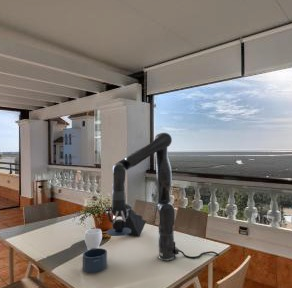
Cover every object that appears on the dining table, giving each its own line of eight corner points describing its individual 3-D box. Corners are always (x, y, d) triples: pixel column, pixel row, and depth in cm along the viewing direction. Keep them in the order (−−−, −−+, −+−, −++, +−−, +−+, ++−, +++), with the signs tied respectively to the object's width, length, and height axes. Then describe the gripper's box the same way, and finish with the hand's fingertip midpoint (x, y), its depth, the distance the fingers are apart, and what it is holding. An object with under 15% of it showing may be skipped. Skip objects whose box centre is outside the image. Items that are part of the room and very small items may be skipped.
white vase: (88, 251, 157) (87, 228, 157) (104, 251, 156) (104, 228, 157) (81, 259, 146) (81, 233, 146) (99, 259, 146) (98, 233, 146)
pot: (104, 259, 145) (104, 245, 145) (109, 273, 129) (109, 257, 129) (81, 263, 140) (81, 248, 140) (84, 278, 124) (84, 261, 124)
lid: (128, 227, 147) (127, 216, 148) (133, 235, 135) (133, 222, 135) (105, 231, 142) (104, 218, 142) (108, 238, 129) (108, 225, 130)
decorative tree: (124, 237, 190) (107, 206, 172) (132, 222, 202) (118, 191, 184) (141, 240, 184) (125, 208, 166) (148, 224, 196) (134, 192, 178)
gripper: (129, 196, 145) (129, 225, 145) (105, 198, 139) (105, 228, 139) (132, 198, 138) (133, 228, 138) (107, 200, 133) (107, 232, 132)
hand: (119, 228), depth 138 cm, fingers closed on lid, 4 cm apart
